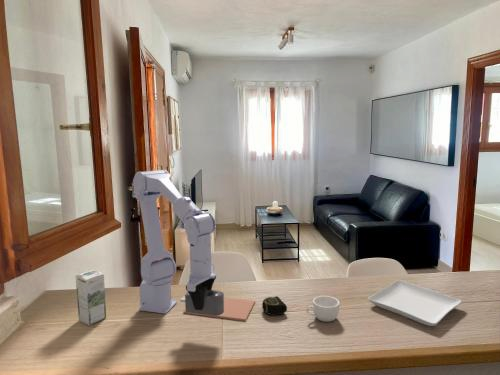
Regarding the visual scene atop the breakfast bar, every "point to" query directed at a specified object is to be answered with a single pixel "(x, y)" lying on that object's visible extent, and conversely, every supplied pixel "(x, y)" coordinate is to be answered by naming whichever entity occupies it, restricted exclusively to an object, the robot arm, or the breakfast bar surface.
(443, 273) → the breakfast bar surface
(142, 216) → the robot arm
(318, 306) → the teacup
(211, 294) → the grey round-top block
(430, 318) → the salad plate
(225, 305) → the rubber mat
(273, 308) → the tape measure
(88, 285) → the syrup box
